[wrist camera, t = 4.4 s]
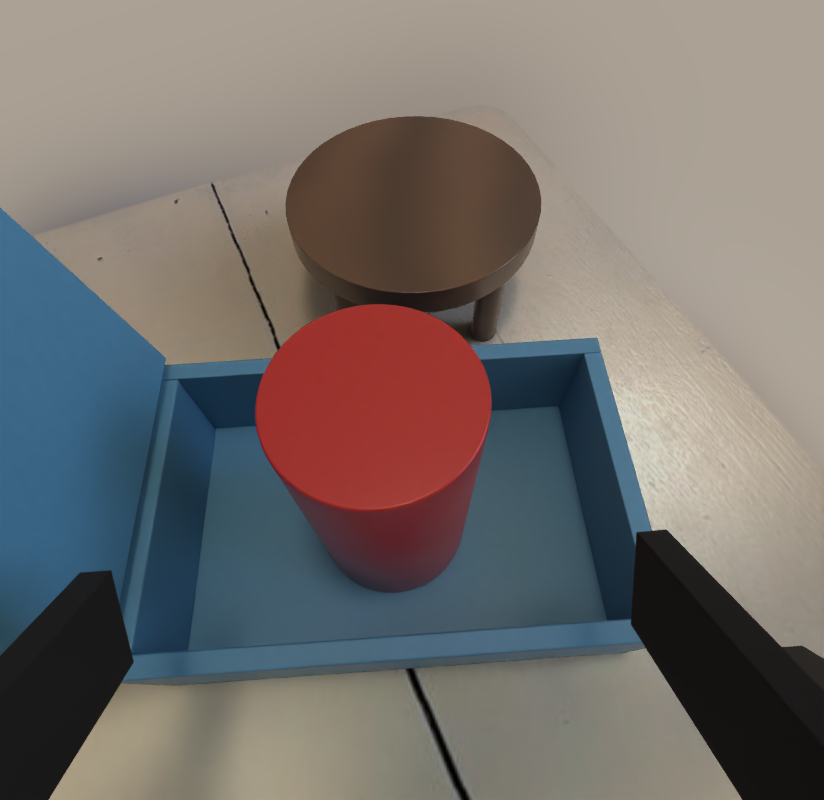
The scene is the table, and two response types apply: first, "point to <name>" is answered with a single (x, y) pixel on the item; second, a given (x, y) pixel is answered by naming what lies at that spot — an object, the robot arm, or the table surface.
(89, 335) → the cool box lid
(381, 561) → the red cylinder
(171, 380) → the blue open box
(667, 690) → the table surface
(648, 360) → the table surface
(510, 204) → the round footed platform
